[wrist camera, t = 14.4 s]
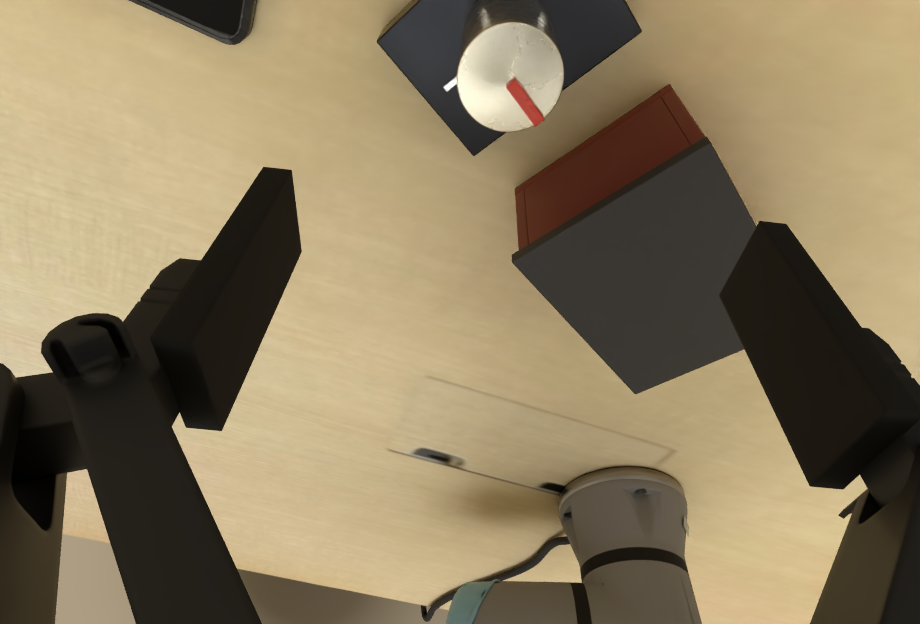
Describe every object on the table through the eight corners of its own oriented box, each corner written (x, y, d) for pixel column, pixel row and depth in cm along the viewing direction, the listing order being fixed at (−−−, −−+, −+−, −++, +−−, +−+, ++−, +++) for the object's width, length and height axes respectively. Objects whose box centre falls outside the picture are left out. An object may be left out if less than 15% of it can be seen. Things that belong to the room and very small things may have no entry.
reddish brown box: (514, 188, 40) (518, 260, 33) (669, 83, 34) (710, 145, 28) (613, 307, 47) (632, 386, 40) (754, 236, 42) (803, 313, 35)
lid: (511, 254, 33) (511, 262, 32) (706, 135, 27) (710, 142, 27) (632, 386, 40) (635, 395, 40) (803, 314, 35) (808, 323, 34)
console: (475, 141, 37) (474, 159, 35) (381, 28, 33) (374, 41, 31) (634, 21, 32) (644, 34, 30) (548, -135, 28) (552, -132, 26)
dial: (444, 29, 30) (434, 74, 25) (517, -36, 28) (523, -3, 23) (498, 99, 33) (499, 154, 28) (569, 44, 31) (585, 91, 25)
